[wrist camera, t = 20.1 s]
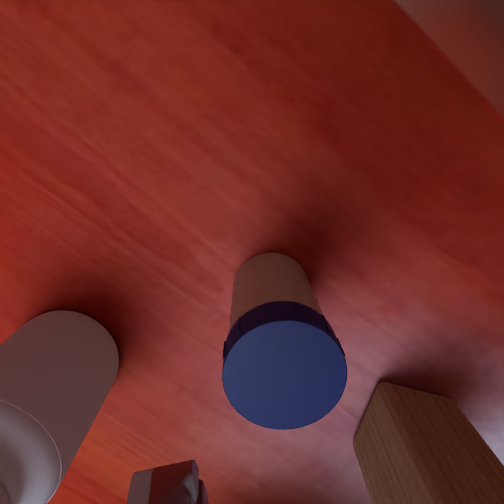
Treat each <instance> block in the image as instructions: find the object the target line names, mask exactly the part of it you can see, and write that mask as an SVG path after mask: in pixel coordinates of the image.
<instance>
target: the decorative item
mask: <svg viewBox="0 0 504 504" xmlns="http://www.w3.org/2000/svg"><path fill="white" fill-rule="evenodd" d="M353 445H354V450H355V453H356V456H357V459H358V462H359V465H360V468H361V471H362V474H363V477H364V480H365V483H366V486H367V489H368V492H369V495H370V497H371V500H372V503H373V504H504V466H503V464H502V463H501V462H500V461H499V459H498V458H497V457H496V455H495V454H494V453H493V451H492V450H491V449H490V448H489V446H488V445H487V444H486V442H485V441H484V440H483V438H482V437H481V436H480V434H479V433H478V432H477V431H476V429H475V428H474V427H473V425H472V424H471V423H470V421H469V420H468V419H467V417H466V416H465V415H464V414H463V412H462V411H461V410H460V408H459V407H458V406H457V404H456V403H455V402H454V401H453V400H451V399H450V398H447V397H444V396H440V395H436V394H432V393H428V392H424V391H420V390H416V389H412V388H408V387H404V386H400V385H396V384H392V383H388V382H380V383H379V384H378V385H377V387H376V389H375V392H374V394H373V396H372V399H371V401H370V403H369V406H368V408H367V410H366V413H365V415H364V417H363V420H362V422H361V424H360V427H359V429H358V431H357V434H356V436H355V438H354V442H353Z"/></svg>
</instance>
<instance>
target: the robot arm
mask: <svg viewBox="0 0 504 504" xmlns="http://www.w3.org/2000/svg"><path fill="white" fill-rule="evenodd" d="M127 504H208V498H207V493H206V489H205V486H204V483H203V481H202V480H200V479H199V469H198V466H197V464H196V461H195V460H190V461H185V462H180V463H175V464H171V465H166V466H161V467H156V468H152V469H148V470H143V471H138V472H134V474H133V476H132V478H131V483H130V488H129V494H128V499H127Z"/></svg>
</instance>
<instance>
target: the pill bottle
mask: <svg viewBox="0 0 504 504" xmlns="http://www.w3.org/2000/svg"><path fill="white" fill-rule="evenodd" d="M118 367H119V355H118V350H117V347H116V344H115V342H114V340H113V338H112V337H111V335H110V334H109V332H108V331H107V330H106V329H105V328H104V327H103V326H102V325H101V324H100V323H98V322H97V321H96V320H94V319H92V318H91V317H89V316H87V315H84V314H81V313H78V312H74V311H65V310H60V311H51V312H47V313H44V314H41V315H39V316H37V317H35V318H33V319H32V320H30V321H28V322H27V323H25V324H24V325H23V326H22V327H21V328H19V329H18V330H17V331H16V332H15V333H14V334H12V335H11V336H10V337H9V338H8V339H7V340H5V341H4V342H3V343H2V344H1V345H0V504H46V503H47V502H48V501H49V500H50V499H51V498H52V496H53V495H54V493H55V492H56V490H57V488H58V487H59V485H60V483H61V481H62V479H63V478H64V476H65V474H66V472H67V470H68V468H69V466H70V464H71V462H72V461H73V459H74V457H75V455H76V453H77V451H78V449H79V447H80V446H81V444H82V442H83V440H84V438H85V436H86V434H87V432H88V430H89V429H90V427H91V425H92V423H93V421H94V419H95V417H96V415H97V414H98V412H99V410H100V408H101V406H102V404H103V402H104V400H105V398H106V397H107V395H108V393H109V391H110V389H111V387H112V385H113V383H114V381H115V378H116V375H117V372H118Z"/></svg>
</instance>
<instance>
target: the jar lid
mask: <svg viewBox="0 0 504 504" xmlns="http://www.w3.org/2000/svg"><path fill="white" fill-rule="evenodd" d="M344 356H345V353H344V351H343V349H342V347H341V344H340V342H339V340H338V338H336V336H335V334H334V331H333V329H332V328H331V326H330V324H329V323H328V322H327V320H326V319H325V317H324V315H321V314H320V313H318V312H317V311H316V310H314V309H312V308H311V307H308V306H306V305H304V304H301V303H298V302H292V301H273V302H268V303H266V302H265V303H264V304H261V305H258V306H256V307H254V308H252V309H251V310H249V311H248V312H246V313H245V314H244V315H242V316H241V317H239V318H238V320H237V321H236V323H235V324H234V325H233V327H232V328H231V330H230V332H229V334H228V337H227V340H226V341H224V349H223V360H224V361H223V373H222V380H223V387H224V390H225V393H226V396H227V398H228V400H229V401H230V403H231V405H232V406H233V407H234V408H235V409H236V411H237V412H238V413H240V414H241V415H242V416H243V417H244V418H246V419H247V420H249V421H251V422H253V423H255V424H257V425H260V426H262V427H266V428H271V429H283V430H286V429H295V428H300V427H303V426H306V425H309V424H311V423H314V422H316V421H317V420H319V419H321V418H322V417H324V416H325V415H326V414H328V413H329V412H330V411H331V410H332V409H333V408H334V406H335V405H336V404H337V403H338V401H339V399H340V398H341V396H342V394H343V391H344V389H345V385H346V381H347V365H346V360H345V357H344Z"/></svg>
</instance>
